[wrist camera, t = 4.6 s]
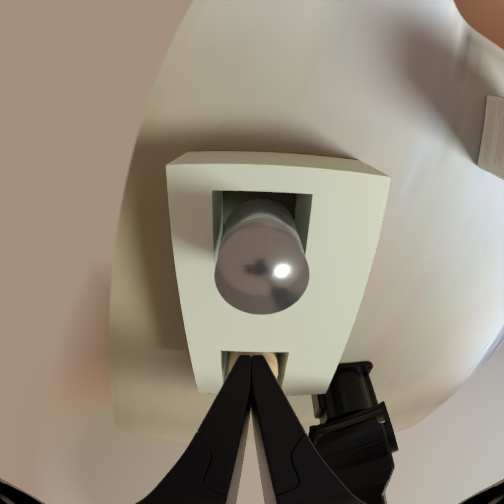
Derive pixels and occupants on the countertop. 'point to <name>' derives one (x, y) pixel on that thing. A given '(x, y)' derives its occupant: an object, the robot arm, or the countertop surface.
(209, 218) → the socket block
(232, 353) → the oak peg
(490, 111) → the supplement box
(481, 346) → the countertop surface
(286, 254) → the steel peg
